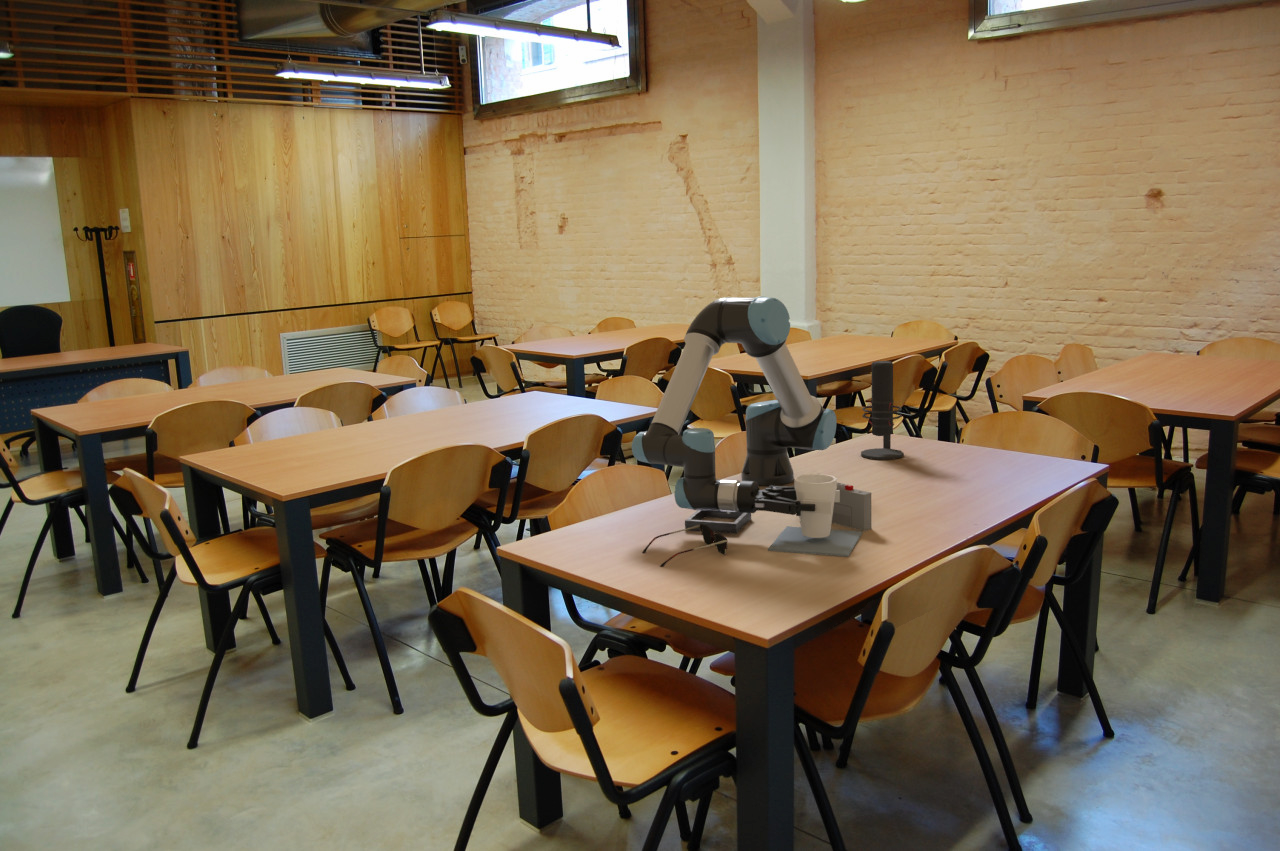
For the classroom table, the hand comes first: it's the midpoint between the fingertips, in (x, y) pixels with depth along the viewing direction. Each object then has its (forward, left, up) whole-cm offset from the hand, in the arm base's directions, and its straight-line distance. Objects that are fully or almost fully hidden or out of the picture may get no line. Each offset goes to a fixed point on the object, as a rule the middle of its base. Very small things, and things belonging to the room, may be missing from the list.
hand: (835, 501), depth 218 cm
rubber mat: (0, -4, -10) cm, 11 cm away
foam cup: (0, -4, -8) cm, 9 cm away
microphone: (-94, -3, -10) cm, 95 cm away
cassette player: (-16, -1, -10) cm, 19 cm away
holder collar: (-8, -30, -10) cm, 33 cm away
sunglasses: (+16, -31, -10) cm, 37 cm away
